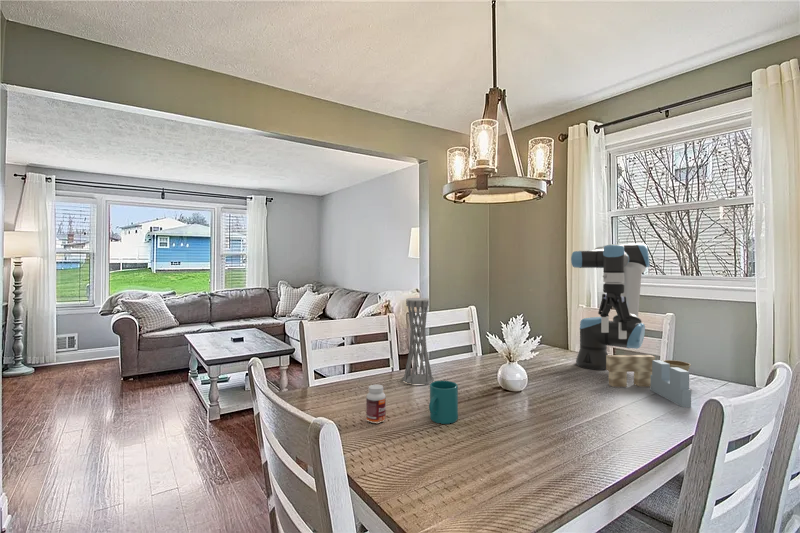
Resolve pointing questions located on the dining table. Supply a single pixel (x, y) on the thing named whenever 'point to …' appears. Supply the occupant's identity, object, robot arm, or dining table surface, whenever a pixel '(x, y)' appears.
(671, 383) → the slate board
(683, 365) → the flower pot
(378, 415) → the pill bottle
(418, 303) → the vase
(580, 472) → the dining table surface
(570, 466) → the dining table surface
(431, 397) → the cup
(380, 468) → the dining table surface
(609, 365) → the maple board
